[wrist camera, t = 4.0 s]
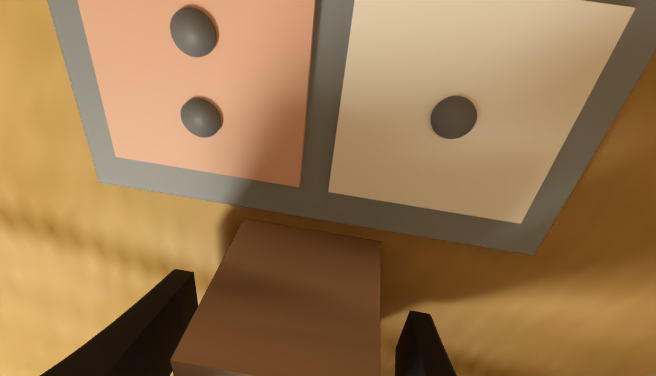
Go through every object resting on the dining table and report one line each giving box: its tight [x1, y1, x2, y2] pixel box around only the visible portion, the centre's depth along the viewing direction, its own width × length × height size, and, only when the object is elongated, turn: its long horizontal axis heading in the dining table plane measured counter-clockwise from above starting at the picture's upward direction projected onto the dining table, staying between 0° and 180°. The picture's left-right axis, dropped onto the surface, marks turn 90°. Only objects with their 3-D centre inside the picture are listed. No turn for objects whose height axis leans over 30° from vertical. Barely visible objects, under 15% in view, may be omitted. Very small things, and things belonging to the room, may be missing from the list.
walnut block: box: [170, 219, 380, 376], centre depth 11 cm, size 4×4×5 cm
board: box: [47, 0, 656, 256], centre depth 9 cm, size 8×13×1 cm, turn 83°
